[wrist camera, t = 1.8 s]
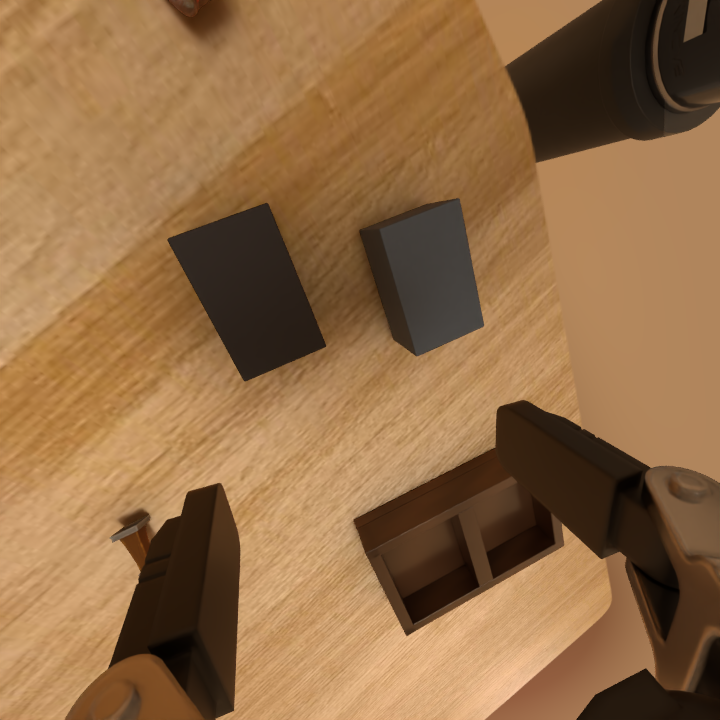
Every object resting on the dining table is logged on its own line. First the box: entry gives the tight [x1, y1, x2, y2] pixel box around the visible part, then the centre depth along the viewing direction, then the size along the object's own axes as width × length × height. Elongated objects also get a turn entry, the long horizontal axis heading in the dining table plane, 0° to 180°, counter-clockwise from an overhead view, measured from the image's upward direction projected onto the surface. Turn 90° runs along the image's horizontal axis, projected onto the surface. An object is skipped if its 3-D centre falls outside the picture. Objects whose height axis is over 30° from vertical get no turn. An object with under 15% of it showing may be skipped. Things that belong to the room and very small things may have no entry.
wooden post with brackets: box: [110, 515, 150, 576], centre depth 25 cm, size 2×8×4 cm, turn 20°
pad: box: [360, 198, 484, 356], centre depth 22 cm, size 5×8×4 cm, turn 20°
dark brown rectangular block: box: [168, 203, 326, 381], centre depth 20 cm, size 5×8×4 cm, turn 19°
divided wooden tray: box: [354, 448, 564, 636], centre depth 32 cm, size 18×12×4 cm
